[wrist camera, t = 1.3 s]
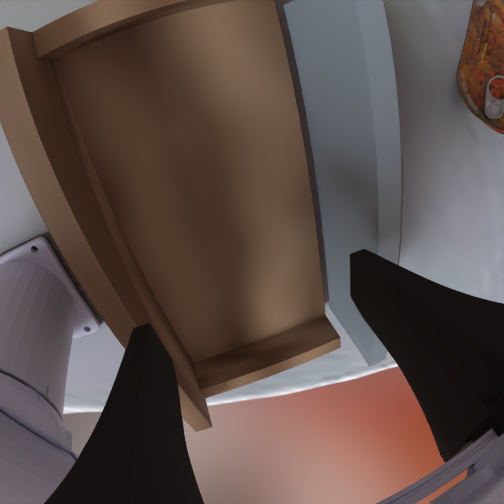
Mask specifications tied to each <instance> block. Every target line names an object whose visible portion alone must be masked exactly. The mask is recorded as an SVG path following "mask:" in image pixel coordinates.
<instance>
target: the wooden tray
mask: <svg viewBox="0 0 504 504" xmlns="http://www.w3.org/2000/svg"><path fill="white" fill-rule="evenodd" d="M0 122H1V125H2V127H3V130H4V133H5V136H6V138H7V141H8V143H9V146H10V149H11V151H12V154H13V156H14V158H15V161H16V163H17V166H18V168H19V170H20V173H21V175H22V177H23V179H24V182H25V184H26V186H27V188H28V190H29V192H30V194H31V197H32V199H33V201H34V203H35V205H36V207H37V209H38V211H39V213H40V215H41V217H42V219H43V221H44V223H45V224H46V226H47V228H48V230H49V232H50V234H51V236H52V238H53V239H54V241H55V243H56V245H57V247H58V248H59V250H60V252H61V254H62V255H63V257H64V259H65V260H66V262H67V264H68V265H69V267H70V269H71V270H72V272H73V274H74V275H75V277H76V279H77V280H78V282H79V283H80V285H81V287H82V288H83V290H84V291H85V293H86V294H87V296H88V297H89V299H90V300H91V302H92V303H93V305H94V306H95V308H96V309H97V311H98V312H99V314H100V315H101V317H102V318H103V320H104V321H105V322H106V324H107V325H108V327H109V328H110V329H111V331H112V332H113V334H114V335H115V336H116V338H117V339H118V340H119V342H120V343H121V344H122V346H123V347H124V348H125V350H126V347H127V345H128V342H129V339H130V336H131V333H132V330H133V328H135V327H138V326H141V325H144V324H148V323H150V324H151V326H152V328H153V329H154V331H155V332H156V334H157V336H158V337H159V339H160V341H161V342H162V344H163V345H164V347H165V349H166V350H167V352H168V353H169V355H170V356H171V358H172V360H173V365H174V369H175V373H176V377H177V382H178V388H179V396H180V404H181V412H182V418H183V419H184V420H185V421H186V422H187V423H188V424H189V425H190V426H191V427H192V428H193V429H194V430H195V431H196V432H197V431H200V430H204V429H207V428H211V427H212V424H211V420H210V416H209V412H208V408H207V403H206V399H205V398H207V397H210V396H213V395H217V394H220V393H223V392H226V391H229V390H232V389H235V388H238V387H241V386H244V385H247V384H250V383H253V382H255V381H258V380H261V379H264V378H266V377H269V376H272V375H274V374H277V373H280V372H282V371H285V370H288V369H290V368H293V367H295V366H298V365H300V364H303V363H305V362H308V361H310V360H312V359H315V358H317V357H320V356H322V355H324V354H327V353H329V352H331V351H334V350H336V349H338V348H340V336H339V335H338V333H337V332H336V330H335V329H334V327H333V326H332V324H331V323H330V321H329V320H328V318H327V317H326V315H325V305H324V294H323V284H322V274H321V264H320V255H319V247H318V238H317V230H316V222H315V214H314V207H313V200H312V193H311V186H310V179H309V172H308V166H307V159H306V153H305V147H304V141H303V135H302V130H301V124H300V118H299V113H298V107H297V102H296V97H295V92H294V87H293V82H292V77H291V72H290V67H289V62H288V58H287V53H286V48H285V44H284V39H283V35H282V31H281V26H280V22H279V18H278V14H277V10H276V6H275V2H274V0H100V1H97V2H95V3H92V4H90V5H87V6H85V7H83V8H80V9H78V10H76V11H74V12H72V13H69V14H67V15H65V16H63V17H61V18H59V19H57V20H55V21H53V22H51V23H49V24H47V25H45V26H43V27H41V28H40V29H38V30H36V31H34V32H28V31H24V30H20V29H15V28H11V27H5V28H3V29H2V30H0Z"/></svg>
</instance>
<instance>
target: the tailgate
mask: <svg viewBox="0 0 504 504" xmlns="http://www.w3.org/2000/svg"><path fill="white" fill-rule="evenodd" d="M283 6H284V10H285V14H286V19H287V23H288V27H289V32H290V36H291V40H292V45H293V50H294V54H295V59H296V64H297V69H298V74H299V79H300V84H301V89H302V94H303V100H304V105H305V111H306V117H307V123H308V128H309V135H310V141H311V147H312V154H313V160H314V167H315V174H316V181H317V188H318V196H319V204H320V212H321V220H322V229H323V238H324V248H325V258H326V268H327V279H328V291H329V304H330V309H331V310H332V312H333V313H334V314H335V316H336V317H337V319H338V320H339V322H340V323H341V325H342V326H343V328H344V329H345V331H346V332H347V333H348V335H349V336H350V338H351V339H352V341H353V342H354V344H355V345H356V347H357V348H358V350H359V351H360V353H361V354H362V356H363V357H364V359H365V360H366V362H367V363H368V365H369V366H372V365H374V364H376V363H378V362H380V361H382V360H384V359H385V358H386V353H387V349H386V348H385V347H384V345H383V344H382V343H381V341H380V340H379V339H378V337H377V336H376V335H375V333H374V332H373V331H372V329H371V328H370V327H369V326H368V324H367V323H366V322H365V320H364V319H363V317H362V316H361V314H360V312H359V311H358V309H357V307H356V305H355V304H354V302H353V300H352V298H351V297H350V254H351V253H354V252H357V251H359V250H362V249H366V250H368V251H371V252H373V253H375V254H377V255H379V256H381V257H383V258H385V259H387V260H389V261H391V262H393V263H395V264H397V265H399V257H400V243H401V225H402V189H403V171H402V155H401V142H400V123H399V109H398V97H397V87H396V77H395V69H394V61H393V54H392V47H391V41H390V35H389V29H388V23H387V18H386V13H385V8H384V3H383V0H294V1H292V2H290V3H287V4H285V5H283Z"/></svg>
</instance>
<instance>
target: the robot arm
mask: <svg viewBox="0 0 504 504" xmlns="http://www.w3.org/2000/svg"><path fill="white" fill-rule="evenodd" d="M32 246H36V247H37V248H38V250H34V249H33V247H32ZM350 297H351V298H352V300H353V302H354V304H355V305H356V307H357V309H358V311H359V312H360V314H361V316H362V317H363V319H364V320H365V322H366V323H367V324H368V326H369V327H370V328H371V329H372V331H373V332H374V333H375V335H376V336H377V337H378V339H379V340H380V341H381V343H382V344H383V345H384V347H385V348H386V349H387V351H388V352H389V353H390V355H391V356H392V357H393V359H394V360H395V361H396V363H397V364H398V366H399V367H400V369H401V370H402V372H403V374H404V376H405V377H406V379H407V381H408V383H409V385H410V386H411V388H412V390H413V392H414V394H415V396H416V398H417V400H418V402H419V404H420V406H421V408H422V410H423V412H424V414H425V417H426V419H427V421H428V423H429V425H430V428H431V431H432V433H433V436H434V438H435V441H436V444H437V446H438V449H439V452H440V455H441V457H442V458H443V460H444V461H445V462H447V463H445V464H444V465H442V466H441V467H439V468H438V469H436V470H435V471H433V472H431V473H430V474H428V475H427V476H425V477H424V478H422V479H420V480H419V481H417V482H415V483H414V484H412V485H410V486H408V487H407V488H405V489H403V490H401V491H399V492H398V493H396V494H394V495H392V496H390V497H388V498H386V499H384V500H382V501H380V502H379V503H376V504H415V503H416V502H418V501H420V500H422V499H423V498H425V497H427V496H428V495H430V494H431V493H433V492H434V491H436V490H437V489H439V488H440V487H442V486H443V485H445V484H447V483H448V482H449V481H451V480H452V479H454V478H455V477H456V476H458V475H459V474H461V473H462V472H464V471H465V470H466V469H468V470H467V476H466V478H465V479H463V480H462V481H460V482H459V483H457V484H456V485H454V486H453V487H451V488H450V489H449V490H447V491H445V492H444V493H443V494H441V495H440V496H438V497H437V498H435V499H434V500H432V501H431V502H430V504H504V304H503V303H498V302H493V301H489V300H485V299H482V298H478V297H474V296H471V295H468V294H465V293H462V292H459V291H456V290H453V289H450V288H448V287H445V286H443V285H440V284H438V283H436V282H433V281H431V280H428V279H426V278H424V277H422V276H420V275H417V274H415V273H413V272H411V271H409V270H407V269H405V268H403V267H401V266H399V265H397V264H395V263H393V262H391V261H389V260H387V259H385V258H383V257H381V256H379V255H377V254H375V253H373V252H371V251H368V250H366V249H362V250H359V251H357V252H354V253H351V254H350ZM86 327H89V328H86ZM99 329H100V323H99V321H98V320H97V318H96V317H95V315H94V314H93V313H92V311H91V310H90V308H89V307H88V305H87V304H86V302H85V301H84V299H83V298H82V296H81V295H80V293H79V292H78V290H77V289H76V287H75V286H74V284H73V282H72V281H71V279H70V278H69V276H68V274H67V273H66V271H65V270H64V268H63V266H62V265H61V263H60V261H59V260H58V258H57V256H56V255H55V253H54V251H53V249H52V248H51V246H50V244H49V242H48V241H47V239H45V238H44V237H38V238H36V239H34V240H31V241H29V242H27V243H25V244H23V245H21V246H19V247H17V248H15V249H13V250H11V251H9V252H7V253H5V254H3V255H1V256H0V504H204V502H203V499H202V497H201V494H200V491H199V488H198V485H197V482H196V479H195V476H194V472H193V469H192V466H191V462H190V458H189V455H188V451H187V446H186V441H185V435H184V428H183V420H182V412H181V404H180V396H179V388H178V382H177V377H176V373H175V369H174V365H173V360H172V358H171V356H170V355H169V353H168V352H167V350H166V349H165V347H164V345H163V344H162V342H161V341H160V339H159V337H158V336H157V334H156V332H155V331H154V329H153V328H152V326H151V324H150V323H148V324H144V325H141V326H138V327H135V328H133V330H132V333H131V336H130V339H129V342H128V345H127V347H126V350H125V353H124V356H123V359H122V362H121V365H120V368H119V371H118V373H117V376H116V379H115V382H114V384H113V387H112V389H111V392H110V394H109V397H108V399H107V402H106V405H105V407H104V409H103V411H102V414H101V416H100V418H99V420H98V422H97V424H96V427H95V428H94V430H93V432H92V434H91V436H90V438H89V440H88V442H87V443H86V445H85V447H84V448H83V450H82V452H81V454H80V456H78V455H77V454H76V453H74V452H72V451H71V446H72V433H71V432H69V431H68V430H66V429H65V428H64V426H63V424H62V419H63V407H64V396H65V387H66V378H67V371H68V363H69V356H70V350H71V344H72V339H75V338H78V337H81V336H84V335H87V334H91V333H94V332H97V331H98V330H99ZM472 443H473V444H472ZM460 452H461V453H460ZM456 455H457V456H456ZM453 457H454V458H453Z"/></svg>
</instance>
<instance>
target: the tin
mask: <svg viewBox="0 0 504 504" xmlns="http://www.w3.org/2000/svg"><path fill="white" fill-rule="evenodd" d="M458 87H459V91H460V94H461V97H462V99H463V101H464V103H465V104H466V106H467V107H468V109H469V110H470V111H471V112H472V113H473V114H474V115H475V116H476V117H478V118H479V119H480V120H482V121H483V122H484V123H485V124H486V125H487V126H489V127H490V128H492V129H493V130H495V131H496V132H499V133H501V134H504V0H473V5H472V10H471V16H470V21H469V26H468V31H467V35H466V40H465V44H464V48H463V52H462V56H461V59H460V63H459V68H458Z"/></svg>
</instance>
